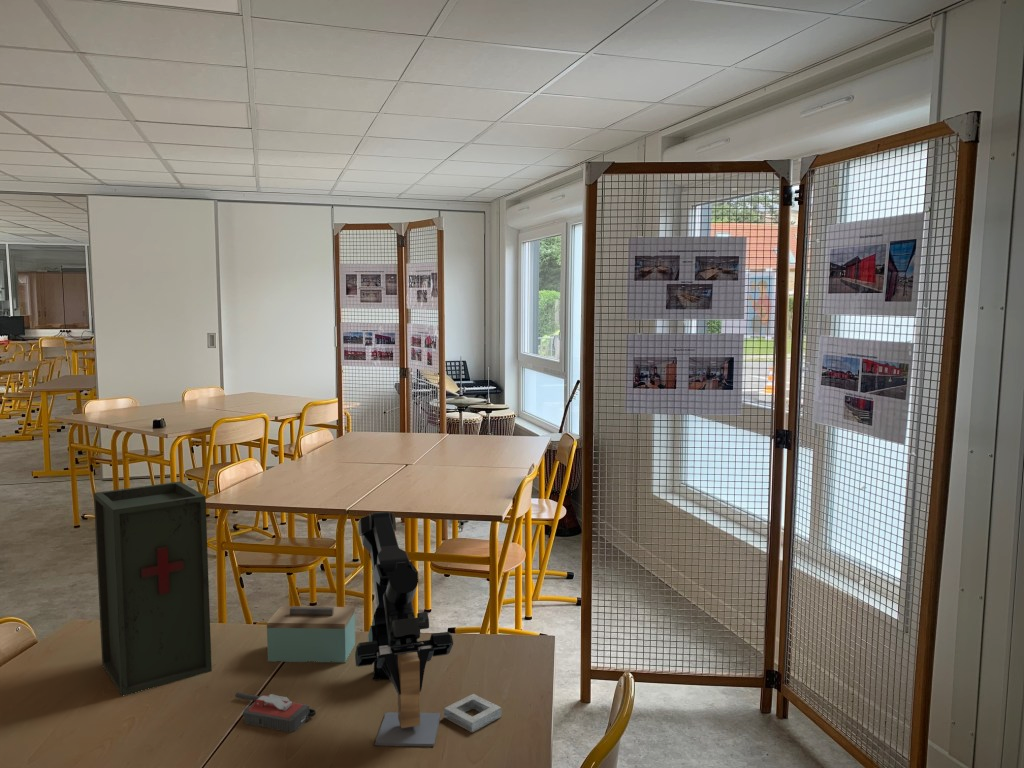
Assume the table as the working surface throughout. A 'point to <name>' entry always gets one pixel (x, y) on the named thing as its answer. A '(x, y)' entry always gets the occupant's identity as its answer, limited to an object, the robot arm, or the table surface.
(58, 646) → the table surface
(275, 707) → the walkie-talkie
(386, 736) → the grey square plate
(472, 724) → the white square ring
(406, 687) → the tall wooden block
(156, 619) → the first aid box
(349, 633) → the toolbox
